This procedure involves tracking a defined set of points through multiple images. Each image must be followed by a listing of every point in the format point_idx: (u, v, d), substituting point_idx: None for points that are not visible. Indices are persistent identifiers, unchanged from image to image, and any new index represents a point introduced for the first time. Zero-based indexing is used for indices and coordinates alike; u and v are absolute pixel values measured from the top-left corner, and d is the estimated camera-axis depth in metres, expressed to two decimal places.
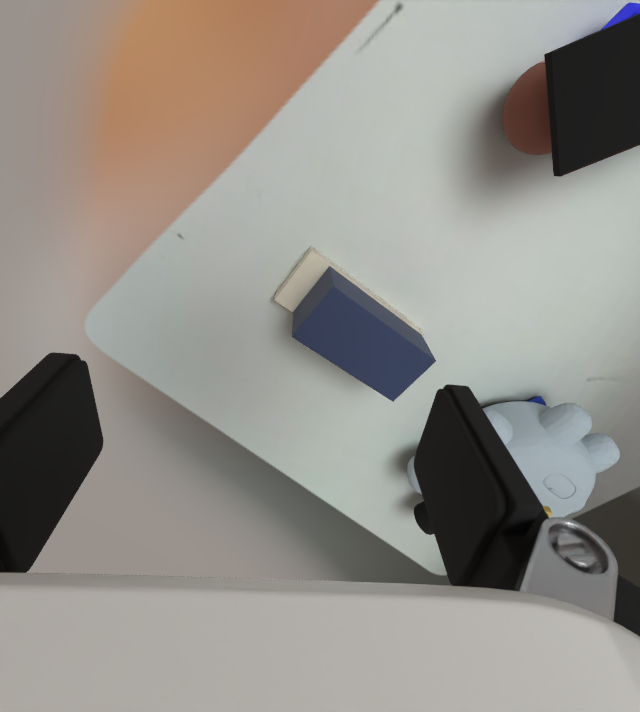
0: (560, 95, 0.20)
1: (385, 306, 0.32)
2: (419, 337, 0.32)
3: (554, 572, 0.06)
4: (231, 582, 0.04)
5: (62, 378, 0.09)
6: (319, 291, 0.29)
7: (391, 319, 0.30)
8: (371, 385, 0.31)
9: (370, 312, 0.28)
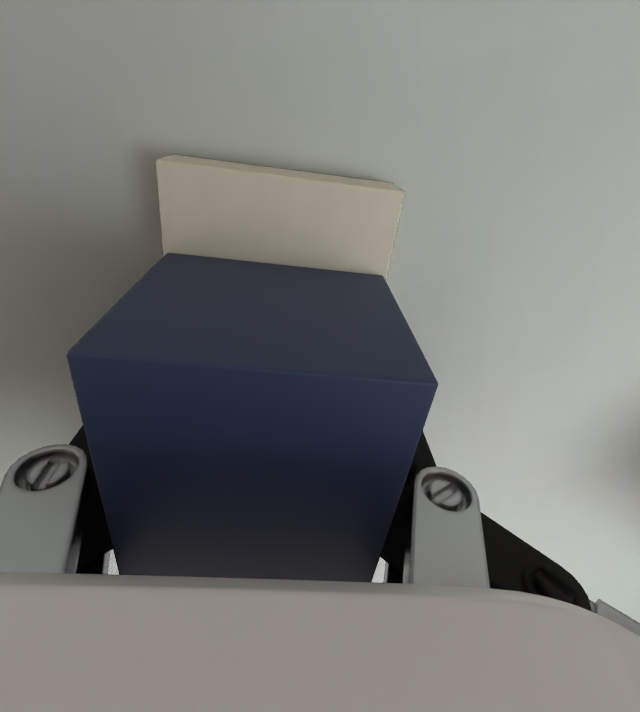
0: None
1: None
2: None
3: (434, 521, 0.07)
4: (231, 582, 0.04)
5: None
6: (328, 313, 0.07)
7: None
8: None
9: (384, 527, 0.07)
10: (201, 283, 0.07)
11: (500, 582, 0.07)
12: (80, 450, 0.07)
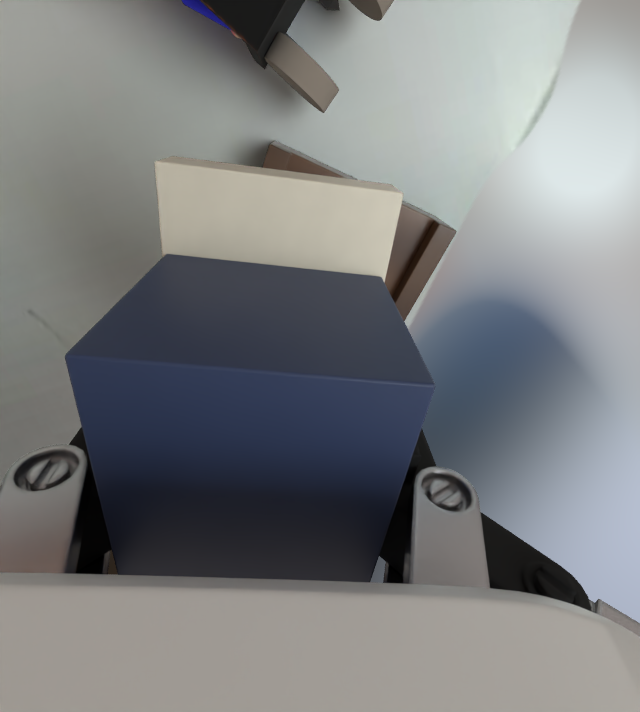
0: None
1: None
2: None
3: (434, 522, 0.07)
4: (231, 582, 0.04)
5: None
6: (326, 315, 0.07)
7: None
8: None
9: (383, 528, 0.07)
10: (200, 284, 0.07)
11: (500, 582, 0.07)
12: (80, 450, 0.07)
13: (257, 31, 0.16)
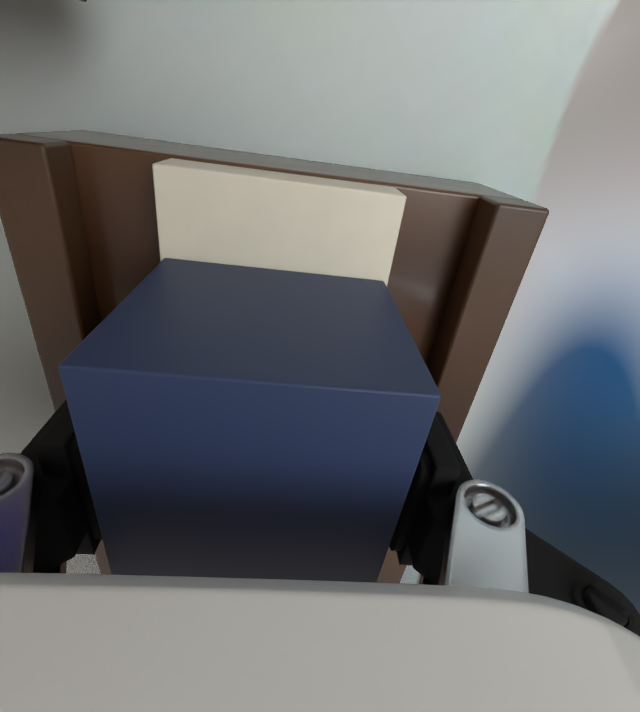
0: None
1: None
2: None
3: (474, 534, 0.07)
4: (231, 582, 0.04)
5: None
6: (328, 321, 0.07)
7: None
8: None
9: (386, 539, 0.07)
10: (198, 290, 0.07)
11: None
12: (27, 459, 0.07)
13: None
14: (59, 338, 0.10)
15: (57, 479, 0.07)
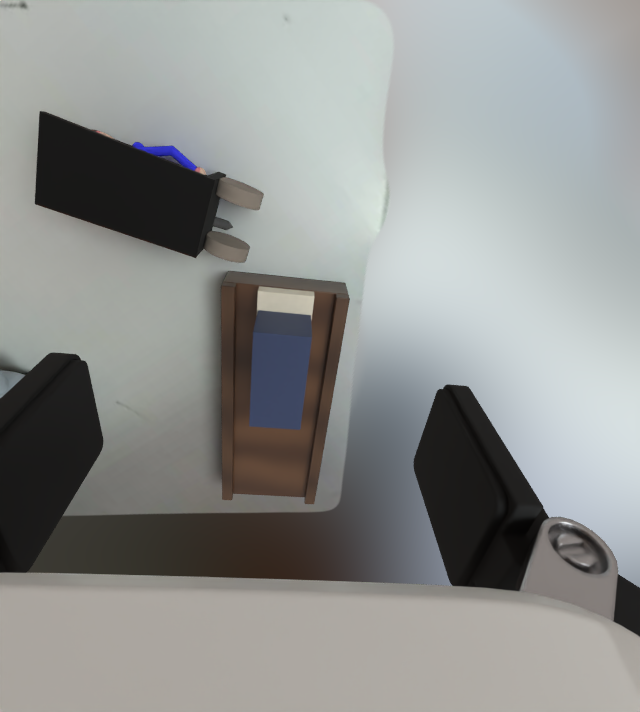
0: (43, 146, 0.26)
1: None
2: None
3: (554, 572, 0.06)
4: (231, 582, 0.04)
5: (62, 378, 0.09)
6: (295, 325, 0.34)
7: None
8: (251, 405, 0.35)
9: (307, 370, 0.34)
10: (268, 318, 0.34)
11: None
12: None
13: (193, 249, 0.30)
14: (227, 329, 0.36)
15: None
